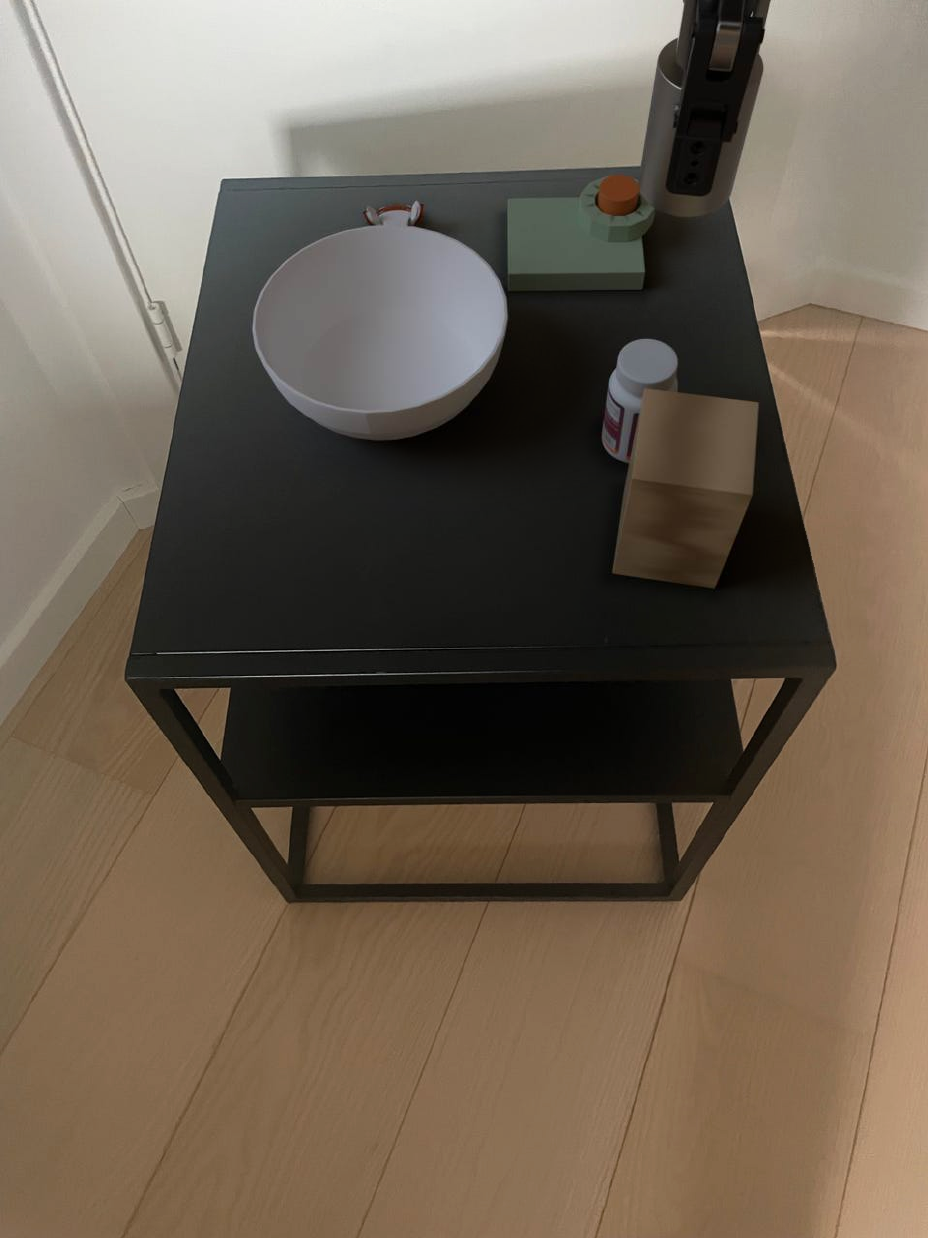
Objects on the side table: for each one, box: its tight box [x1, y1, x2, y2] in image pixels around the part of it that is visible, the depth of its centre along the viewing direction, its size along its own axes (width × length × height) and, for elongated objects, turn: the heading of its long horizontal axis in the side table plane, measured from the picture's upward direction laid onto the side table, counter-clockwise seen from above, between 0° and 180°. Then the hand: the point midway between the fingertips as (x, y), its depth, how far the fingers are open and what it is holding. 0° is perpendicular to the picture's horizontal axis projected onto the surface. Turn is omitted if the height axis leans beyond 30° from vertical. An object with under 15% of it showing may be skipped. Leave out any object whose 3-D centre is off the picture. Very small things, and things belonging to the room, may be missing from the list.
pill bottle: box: [601, 338, 679, 464], centre depth 67 cm, size 5×5×8 cm
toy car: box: [362, 200, 425, 227], centre depth 80 cm, size 5×8×3 cm, turn 2°
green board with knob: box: [506, 175, 657, 292], centre depth 79 cm, size 12×10×4 cm
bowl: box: [252, 225, 509, 441], centre depth 71 cm, size 18×18×7 cm
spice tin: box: [637, 37, 765, 218], centre depth 47 cm, size 5×5×6 cm
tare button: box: [598, 174, 639, 216], centre depth 78 cm, size 3×3×2 cm
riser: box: [612, 388, 760, 589], centre depth 62 cm, size 7×7×11 cm
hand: (691, 152), depth 48 cm, fingers closed on spice tin, 4 cm apart
